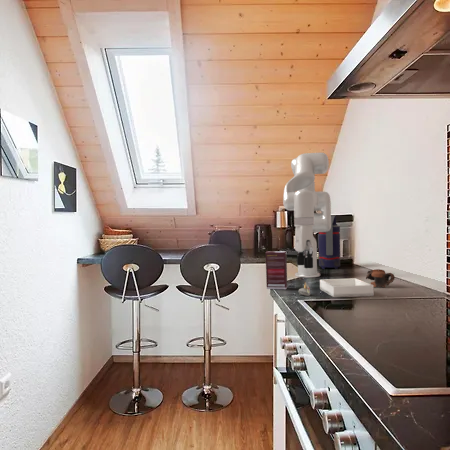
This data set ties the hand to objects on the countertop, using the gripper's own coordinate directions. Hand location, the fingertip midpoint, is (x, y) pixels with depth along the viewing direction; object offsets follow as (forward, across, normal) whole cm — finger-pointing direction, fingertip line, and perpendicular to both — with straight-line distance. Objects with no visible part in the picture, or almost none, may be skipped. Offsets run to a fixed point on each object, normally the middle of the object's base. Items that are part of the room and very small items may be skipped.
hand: (304, 266), depth 146 cm
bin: (+11, -3, +17) cm, 21 cm away
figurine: (+12, -1, 0) cm, 12 cm away
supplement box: (+11, -16, -8) cm, 21 cm away
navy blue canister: (+10, -67, +34) cm, 76 cm away
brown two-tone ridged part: (+11, -12, +37) cm, 40 cm away
